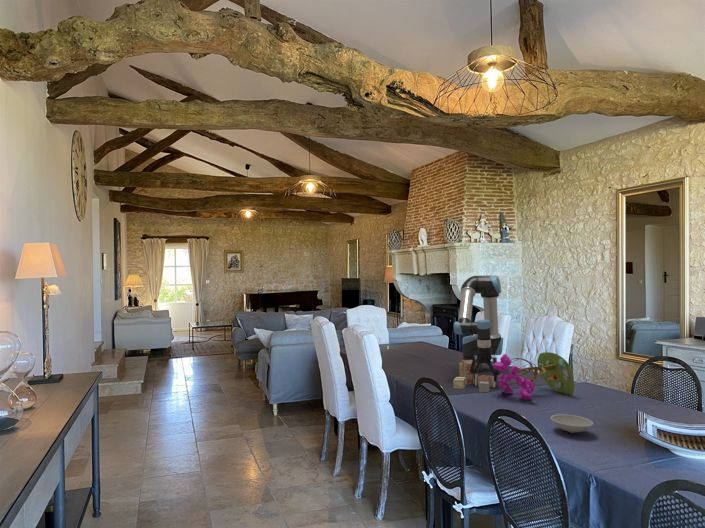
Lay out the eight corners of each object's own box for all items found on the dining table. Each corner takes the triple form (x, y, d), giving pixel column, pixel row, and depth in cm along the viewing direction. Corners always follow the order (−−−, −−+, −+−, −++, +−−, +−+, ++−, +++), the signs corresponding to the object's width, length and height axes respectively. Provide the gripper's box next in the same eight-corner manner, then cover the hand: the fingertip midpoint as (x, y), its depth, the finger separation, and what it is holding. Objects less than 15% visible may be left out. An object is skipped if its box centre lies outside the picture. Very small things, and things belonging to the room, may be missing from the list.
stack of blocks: (458, 377, 318) (458, 357, 318) (468, 377, 318) (468, 357, 318) (467, 384, 297) (466, 363, 297) (477, 384, 297) (477, 363, 297)
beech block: (457, 385, 295) (456, 376, 295) (466, 385, 292) (466, 377, 293) (453, 388, 286) (453, 379, 287) (463, 389, 284) (463, 380, 284)
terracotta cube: (482, 385, 293) (481, 374, 293) (492, 386, 290) (492, 375, 290) (478, 387, 288) (478, 376, 288) (488, 388, 285) (488, 377, 285)
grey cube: (480, 390, 280) (480, 381, 280) (489, 390, 278) (489, 381, 278) (479, 392, 275) (479, 383, 276) (488, 392, 274) (488, 383, 274)
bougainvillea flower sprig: (567, 338, 260) (510, 352, 249) (586, 394, 254) (528, 411, 243) (533, 346, 288) (480, 359, 277) (549, 396, 281) (496, 412, 271)
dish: (542, 428, 208) (541, 416, 209) (571, 424, 213) (570, 412, 213) (572, 441, 192) (571, 428, 192) (603, 437, 196) (602, 424, 196)
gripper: (463, 346, 293) (464, 385, 292) (501, 349, 280) (502, 389, 279) (468, 345, 299) (469, 382, 298) (505, 347, 286) (506, 387, 285)
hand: (485, 386), depth 289 cm, fingers open, 10 cm apart
